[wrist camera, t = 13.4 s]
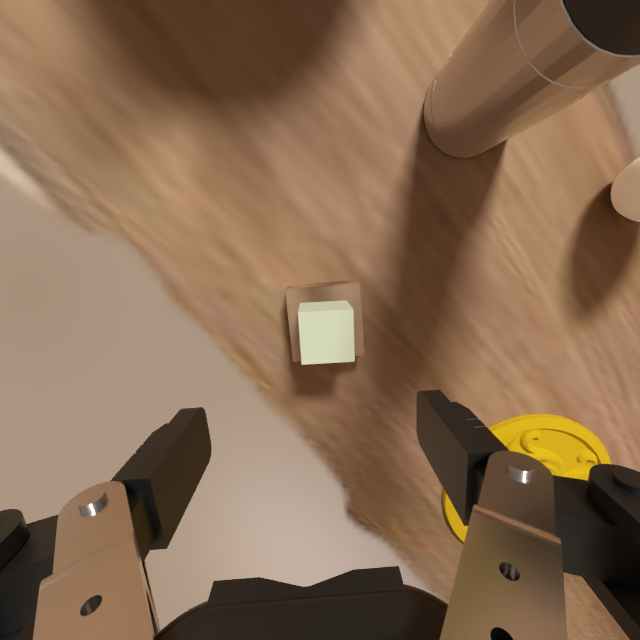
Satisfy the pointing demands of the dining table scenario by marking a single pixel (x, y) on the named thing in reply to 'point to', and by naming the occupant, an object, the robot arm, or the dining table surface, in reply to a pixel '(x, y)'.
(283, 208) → the dining table surface
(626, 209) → the sauce bottle
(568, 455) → the decorative medallion
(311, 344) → the sage wooden cube
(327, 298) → the tan square block
